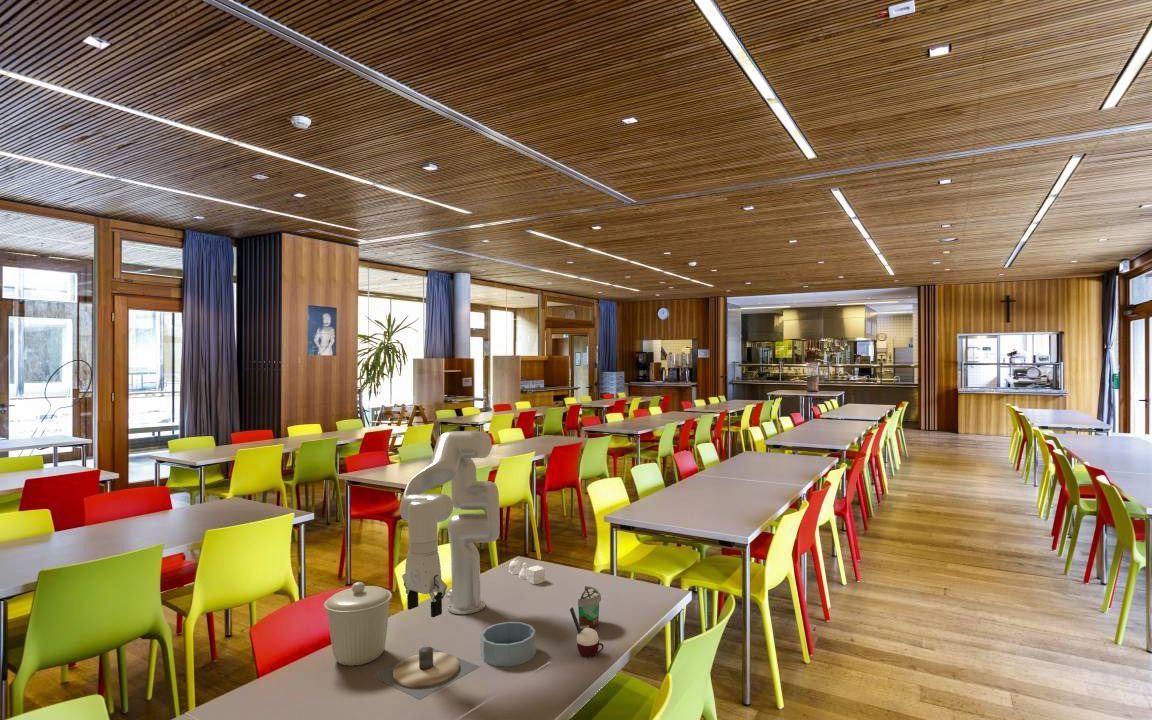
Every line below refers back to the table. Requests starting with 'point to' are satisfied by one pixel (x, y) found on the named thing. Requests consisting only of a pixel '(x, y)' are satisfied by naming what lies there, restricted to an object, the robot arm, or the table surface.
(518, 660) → the bowl
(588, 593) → the food container
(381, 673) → the mat
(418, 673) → the lid
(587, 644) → the cocoa
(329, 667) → the table surface
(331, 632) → the canister
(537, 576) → the container set
